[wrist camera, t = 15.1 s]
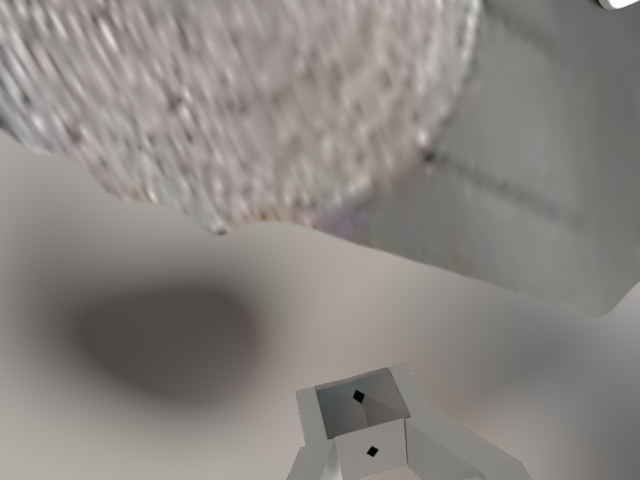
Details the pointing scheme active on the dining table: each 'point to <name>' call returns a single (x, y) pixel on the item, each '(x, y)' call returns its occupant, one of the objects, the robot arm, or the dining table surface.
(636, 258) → the dining table surface
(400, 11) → the dining table surface
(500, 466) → the robot arm
